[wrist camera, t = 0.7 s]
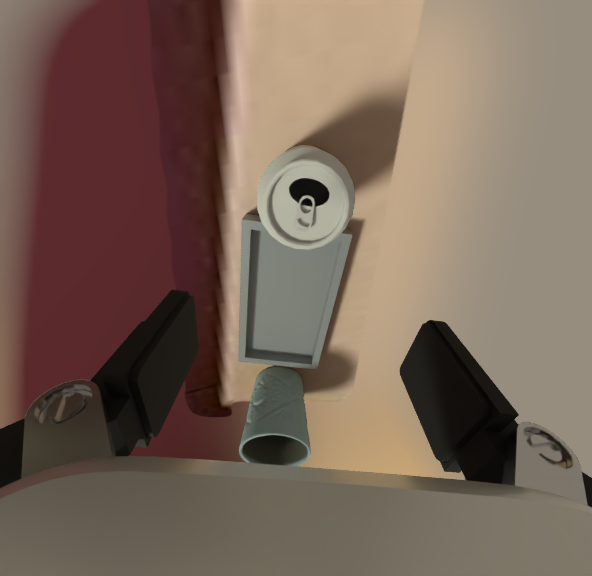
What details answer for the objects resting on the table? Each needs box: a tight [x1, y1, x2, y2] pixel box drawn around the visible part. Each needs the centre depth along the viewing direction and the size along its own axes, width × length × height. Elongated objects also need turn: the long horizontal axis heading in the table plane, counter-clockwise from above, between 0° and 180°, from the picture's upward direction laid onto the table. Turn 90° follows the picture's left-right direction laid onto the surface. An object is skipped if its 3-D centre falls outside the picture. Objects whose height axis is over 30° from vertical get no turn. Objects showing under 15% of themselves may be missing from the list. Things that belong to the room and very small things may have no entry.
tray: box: [238, 214, 353, 370], centre depth 34 cm, size 22×12×2 cm, turn 172°
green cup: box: [239, 366, 311, 467], centre depth 40 cm, size 10×10×12 cm
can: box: [257, 145, 355, 250], centre depth 22 cm, size 8×8×12 cm
